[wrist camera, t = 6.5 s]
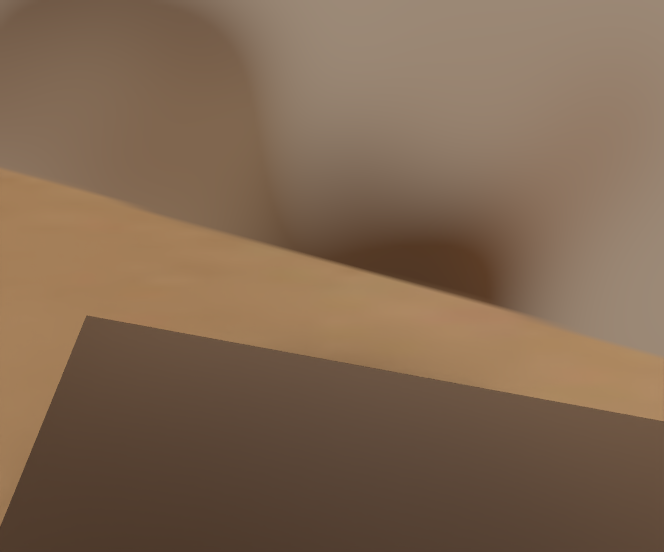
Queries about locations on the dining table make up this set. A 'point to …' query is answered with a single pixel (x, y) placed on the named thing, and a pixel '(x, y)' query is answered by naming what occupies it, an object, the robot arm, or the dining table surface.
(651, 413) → the dining table surface
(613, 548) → the walnut block
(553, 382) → the dining table surface
